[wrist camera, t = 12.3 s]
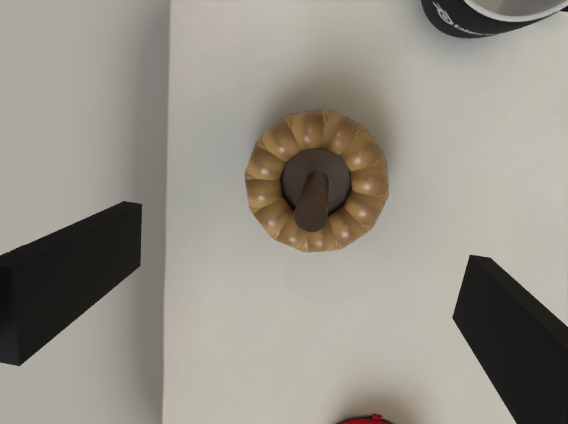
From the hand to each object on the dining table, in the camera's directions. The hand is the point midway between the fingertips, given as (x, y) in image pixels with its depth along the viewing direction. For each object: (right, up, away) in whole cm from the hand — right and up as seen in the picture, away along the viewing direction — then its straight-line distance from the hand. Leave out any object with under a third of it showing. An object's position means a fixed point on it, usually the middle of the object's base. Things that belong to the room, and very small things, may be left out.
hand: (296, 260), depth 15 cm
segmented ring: (+2, +4, +17) cm, 18 cm away
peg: (+3, +5, +20) cm, 20 cm away
